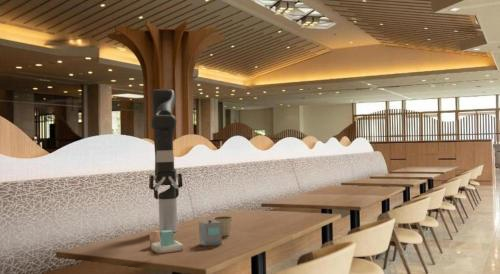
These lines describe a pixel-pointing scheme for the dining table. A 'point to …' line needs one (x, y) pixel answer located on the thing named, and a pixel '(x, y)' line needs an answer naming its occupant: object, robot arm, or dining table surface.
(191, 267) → the dining table surface
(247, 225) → the dining table surface
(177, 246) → the tray
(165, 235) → the teal block
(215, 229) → the box
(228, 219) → the flower pot
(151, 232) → the peach capsule
